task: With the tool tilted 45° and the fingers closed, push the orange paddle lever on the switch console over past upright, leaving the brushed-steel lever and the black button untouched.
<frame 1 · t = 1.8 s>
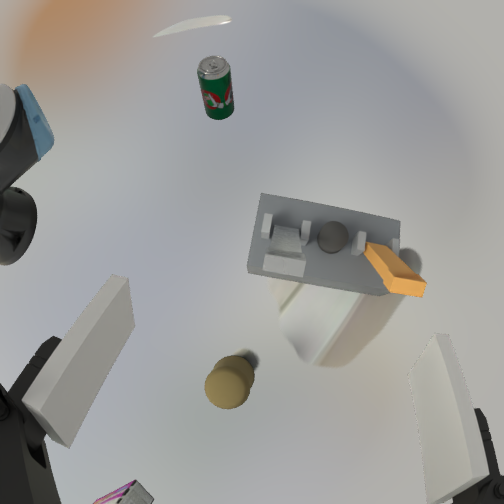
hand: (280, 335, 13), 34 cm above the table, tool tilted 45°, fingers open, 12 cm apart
button: (332, 237, 40), point 8 cm above the table, slide at 0.0 cm
console: (321, 252, 48), on the table
cork: (233, 376, 44), on the table
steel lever: (285, 244, 35), point 13 cm above the table, hinge at -30.0°
orange lever: (387, 263, 34), point 13 cm above the table, hinge at -30.0°
soda can: (220, 111, 54), on the table
candy bar box: (125, 499, 39), on the table
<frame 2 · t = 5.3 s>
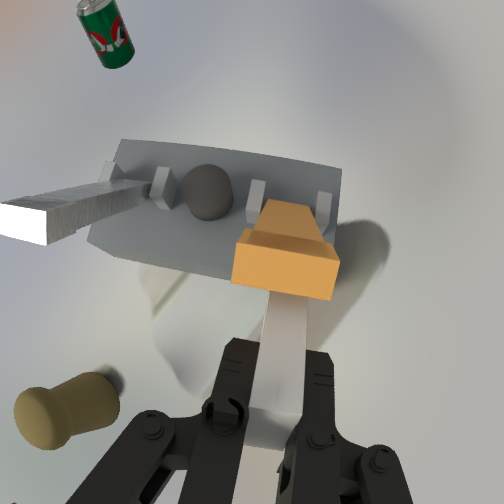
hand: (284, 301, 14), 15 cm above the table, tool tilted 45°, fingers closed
button: (207, 193, 24), point 8 cm above the table, slide at 0.0 cm
console: (219, 225, 31), on the table
cork: (94, 400, 28), on the table
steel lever: (97, 199, 19), point 13 cm above the table, hinge at -30.0°
orange lever: (286, 229, 18), point 13 cm above the table, hinge at -29.7°, touching gripper
soda can: (120, 60, 38), on the table
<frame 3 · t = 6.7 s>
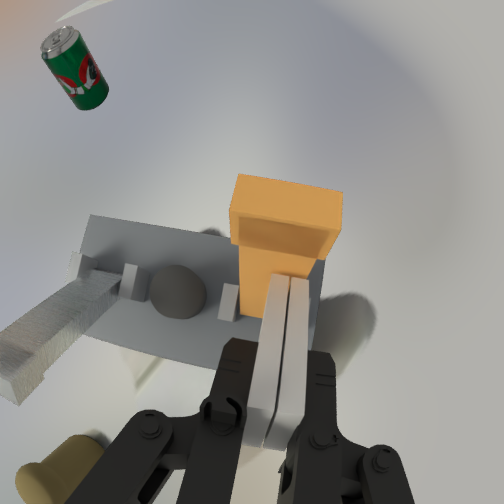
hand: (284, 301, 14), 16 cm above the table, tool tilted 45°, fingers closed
button: (179, 293, 22), point 8 cm above the table, slide at 0.0 cm
console: (197, 301, 30), on the table
cork: (87, 458, 26), on the table
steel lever: (63, 316, 17), point 13 cm above the table, hinge at -30.0°
orange lever: (270, 277, 17), point 13 cm above the table, hinge at 12.0°, touching gripper
soda can: (94, 99, 36), on the table
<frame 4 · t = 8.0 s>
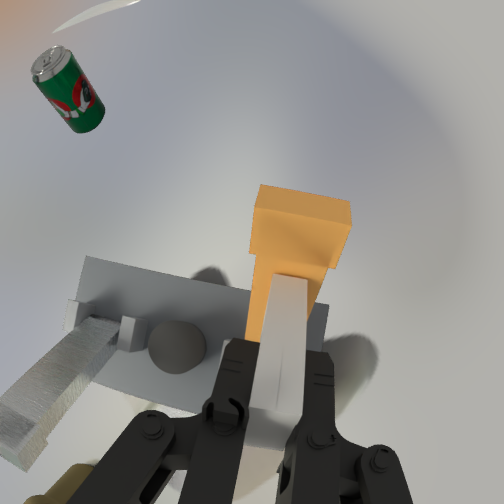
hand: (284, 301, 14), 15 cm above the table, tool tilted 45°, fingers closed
button: (178, 346, 21), point 8 cm above the table, slide at 0.0 cm
console: (198, 342, 29), on the table
cork: (90, 485, 25), on the table
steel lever: (62, 374, 16), point 13 cm above the table, hinge at -30.0°
orange lever: (277, 311, 17), point 12 cm above the table, hinge at 31.2°, touching gripper
soda can: (90, 120, 35), on the table
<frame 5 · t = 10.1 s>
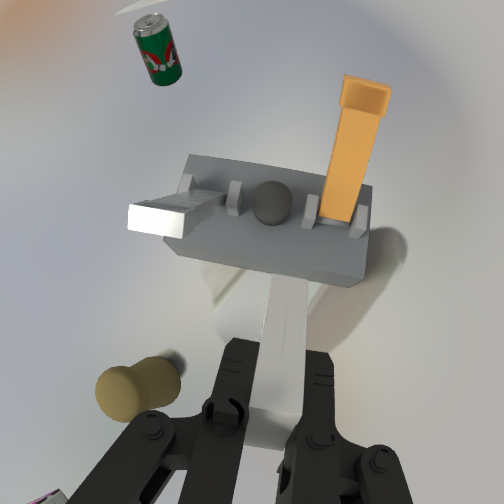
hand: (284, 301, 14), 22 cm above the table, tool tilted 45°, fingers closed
button: (272, 203, 30), point 8 cm above the table, slide at 0.0 cm
console: (270, 230, 38), on the table
cork: (156, 381, 34), on the table
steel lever: (191, 205, 25), point 13 cm above the table, hinge at -30.0°
orange lever: (349, 159, 26), point 12 cm above the table, hinge at 31.3°
soda can: (167, 78, 45), on the table
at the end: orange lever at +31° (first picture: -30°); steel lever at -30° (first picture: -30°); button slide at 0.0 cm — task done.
